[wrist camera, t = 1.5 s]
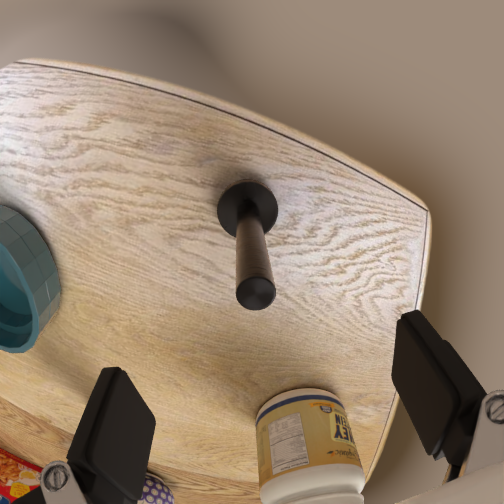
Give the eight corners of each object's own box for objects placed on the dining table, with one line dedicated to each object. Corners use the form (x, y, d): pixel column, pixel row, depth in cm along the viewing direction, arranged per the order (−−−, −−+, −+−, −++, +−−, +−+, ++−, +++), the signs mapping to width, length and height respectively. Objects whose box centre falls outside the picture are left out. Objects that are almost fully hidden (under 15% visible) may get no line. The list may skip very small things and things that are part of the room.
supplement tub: (354, 411, 39) (385, 509, 24) (283, 442, 42) (295, 537, 26) (318, 370, 35) (352, 495, 19) (236, 408, 37) (238, 525, 22)
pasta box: (49, 471, 51) (26, 552, 26) (57, 482, 54) (37, 557, 29) (-25, 433, 48) (-55, 499, 22) (-15, 446, 51) (-42, 509, 26)
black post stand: (212, 186, 26) (185, 255, 13) (270, 173, 26) (303, 231, 13) (225, 240, 28) (216, 345, 15) (281, 228, 28) (316, 326, 15)
